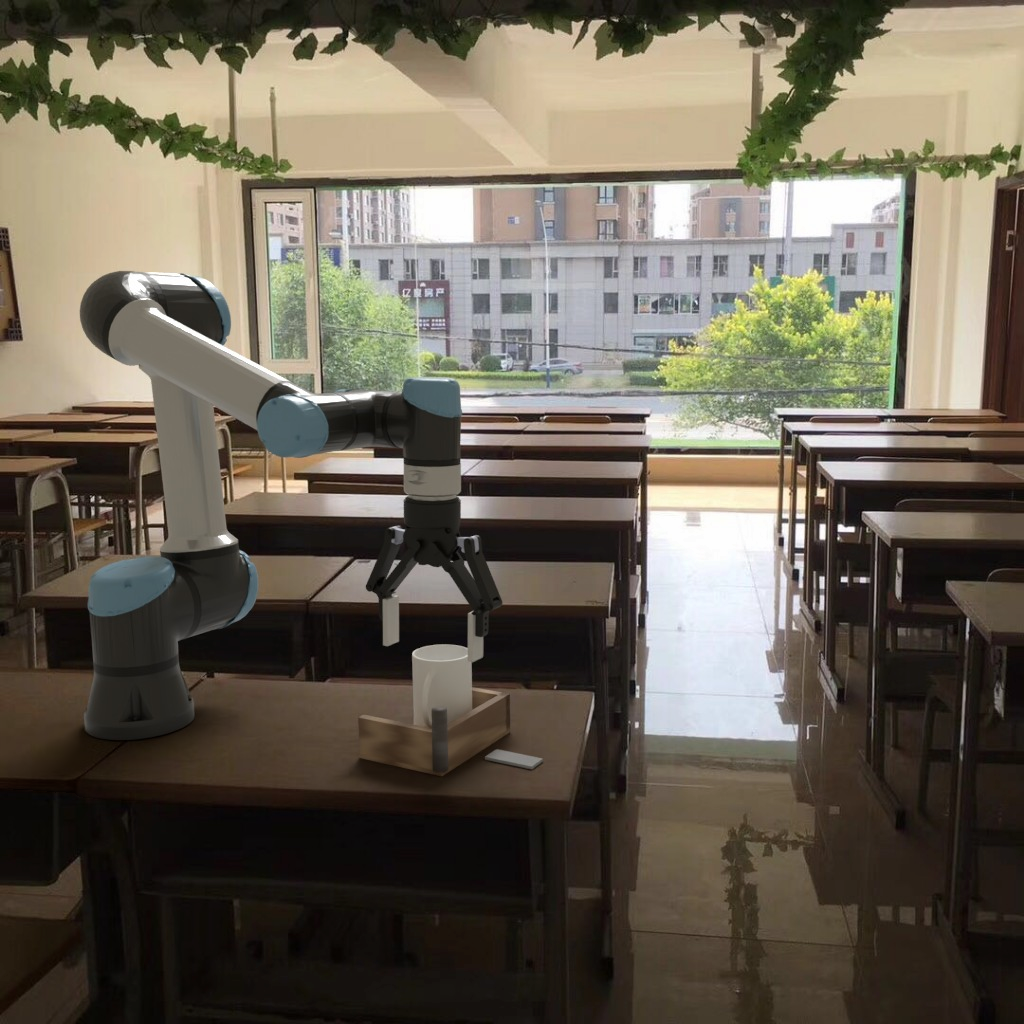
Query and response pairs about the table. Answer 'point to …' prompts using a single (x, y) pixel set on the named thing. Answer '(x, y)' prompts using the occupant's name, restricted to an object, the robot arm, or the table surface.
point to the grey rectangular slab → (514, 759)
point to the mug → (441, 682)
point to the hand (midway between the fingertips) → (432, 651)
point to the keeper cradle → (437, 735)
